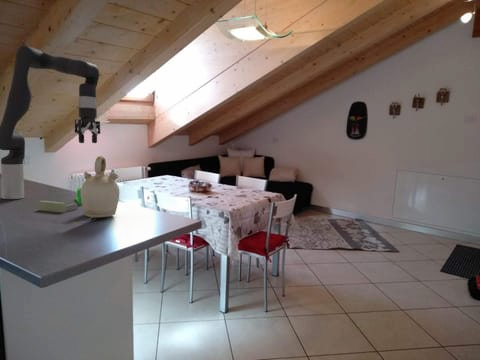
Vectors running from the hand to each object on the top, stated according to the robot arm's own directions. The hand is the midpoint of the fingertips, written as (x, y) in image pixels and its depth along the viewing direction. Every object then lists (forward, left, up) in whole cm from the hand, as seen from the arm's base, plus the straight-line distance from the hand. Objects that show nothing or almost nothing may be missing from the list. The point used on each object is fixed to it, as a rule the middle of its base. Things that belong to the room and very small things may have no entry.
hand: (88, 143), depth 160 cm
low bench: (-7, -9, -30) cm, 32 cm away
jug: (+15, -11, -30) cm, 36 cm away
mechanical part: (-10, +8, -30) cm, 33 cm away
